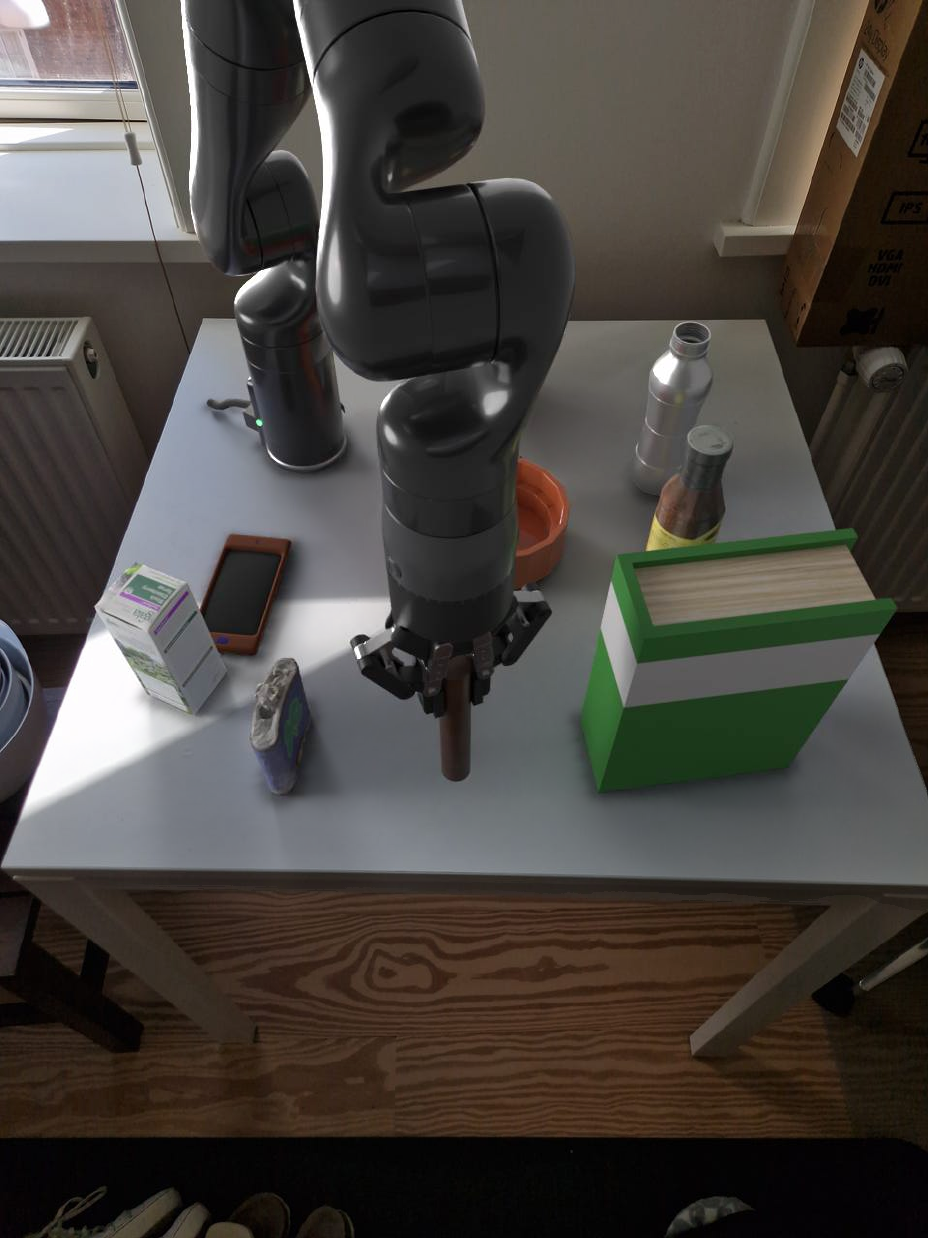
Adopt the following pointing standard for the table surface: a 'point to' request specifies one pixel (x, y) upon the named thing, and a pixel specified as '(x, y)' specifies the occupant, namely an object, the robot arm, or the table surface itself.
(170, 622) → the syrup box
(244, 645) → the smartphone
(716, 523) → the sauce bottle
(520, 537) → the mixing bowl
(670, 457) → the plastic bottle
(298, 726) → the flask
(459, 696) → the stick
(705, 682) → the hardback book
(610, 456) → the table surface
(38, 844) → the table surface
